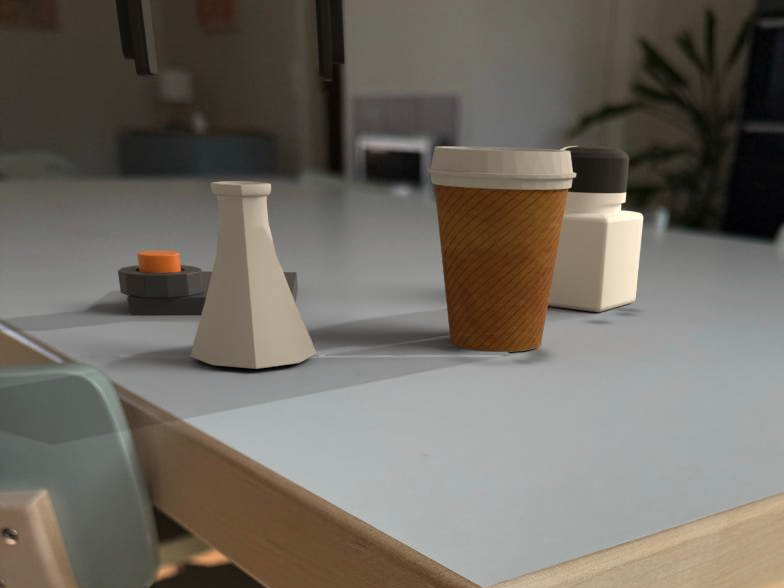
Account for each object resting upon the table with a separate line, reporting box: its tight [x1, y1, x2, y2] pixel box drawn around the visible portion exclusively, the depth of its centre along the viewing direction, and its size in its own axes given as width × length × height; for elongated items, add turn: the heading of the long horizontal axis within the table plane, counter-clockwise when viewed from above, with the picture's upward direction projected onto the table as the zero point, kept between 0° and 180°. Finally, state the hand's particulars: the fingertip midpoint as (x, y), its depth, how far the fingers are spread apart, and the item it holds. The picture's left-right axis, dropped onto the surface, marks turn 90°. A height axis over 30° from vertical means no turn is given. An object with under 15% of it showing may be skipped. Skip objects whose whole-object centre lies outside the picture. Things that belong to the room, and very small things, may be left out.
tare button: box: [137, 250, 181, 273], centre depth 74 cm, size 3×3×2 cm
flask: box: [190, 180, 317, 370], centre depth 59 cm, size 7×7×10 cm
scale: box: [117, 264, 299, 317], centre depth 79 cm, size 13×14×3 cm
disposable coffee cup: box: [426, 145, 576, 353], centre depth 65 cm, size 10×10×12 cm
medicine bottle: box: [548, 145, 644, 313], centre depth 81 cm, size 7×7×12 cm
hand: (238, 78), depth 54 cm, fingers open, 9 cm apart
